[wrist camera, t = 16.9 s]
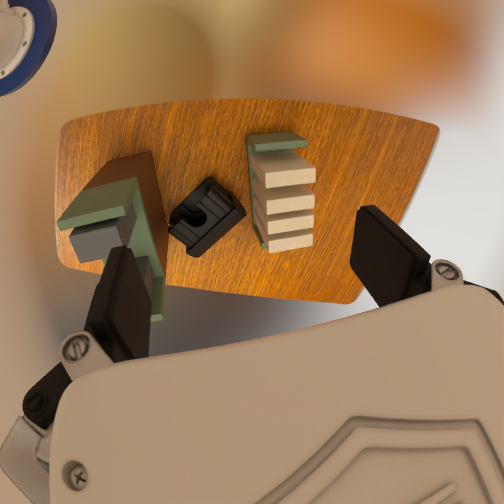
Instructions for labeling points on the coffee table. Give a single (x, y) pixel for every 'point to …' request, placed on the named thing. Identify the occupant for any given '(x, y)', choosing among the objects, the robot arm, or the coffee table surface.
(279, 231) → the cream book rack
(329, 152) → the coffee table surface
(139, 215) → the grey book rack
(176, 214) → the end cap
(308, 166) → the cream book
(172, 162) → the coffee table surface
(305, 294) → the coffee table surface
